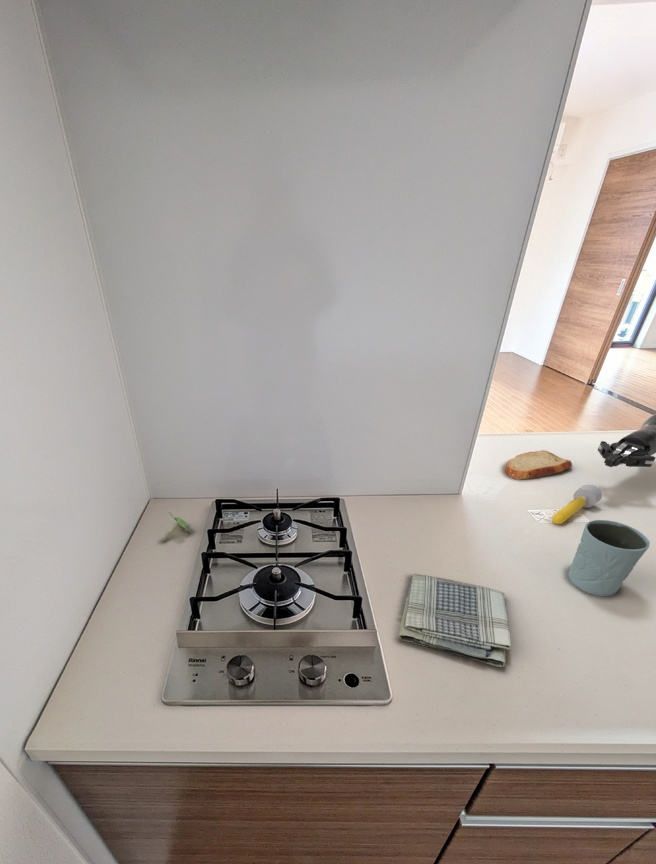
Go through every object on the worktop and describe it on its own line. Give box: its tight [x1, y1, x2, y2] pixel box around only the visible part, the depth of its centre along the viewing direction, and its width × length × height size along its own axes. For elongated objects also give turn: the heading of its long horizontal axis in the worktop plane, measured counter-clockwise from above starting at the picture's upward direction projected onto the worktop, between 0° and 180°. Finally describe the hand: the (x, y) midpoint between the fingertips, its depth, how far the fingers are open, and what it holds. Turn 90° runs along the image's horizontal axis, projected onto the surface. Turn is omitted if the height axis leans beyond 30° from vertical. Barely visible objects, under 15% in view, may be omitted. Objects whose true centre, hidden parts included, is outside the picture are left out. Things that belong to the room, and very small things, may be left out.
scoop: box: [551, 484, 603, 525], centre depth 108 cm, size 5×5×17 cm
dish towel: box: [398, 573, 512, 668], centre depth 80 cm, size 19×18×3 cm
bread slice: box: [504, 450, 573, 481], centre depth 128 cm, size 18×18×4 cm
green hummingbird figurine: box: [162, 511, 192, 543], centre depth 104 cm, size 7×8×7 cm
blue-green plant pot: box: [568, 519, 650, 597], centre depth 86 cm, size 10×10×12 cm
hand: (609, 462), depth 108 cm, fingers closed
